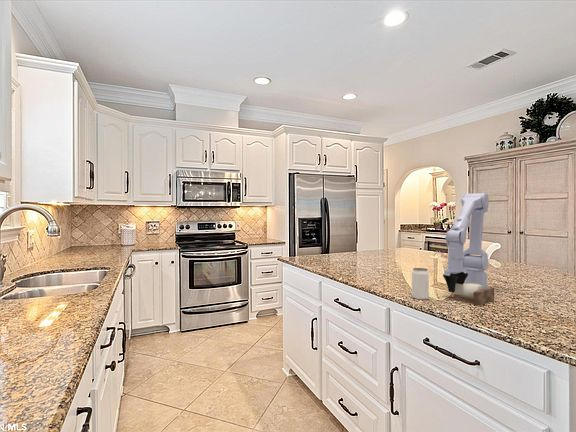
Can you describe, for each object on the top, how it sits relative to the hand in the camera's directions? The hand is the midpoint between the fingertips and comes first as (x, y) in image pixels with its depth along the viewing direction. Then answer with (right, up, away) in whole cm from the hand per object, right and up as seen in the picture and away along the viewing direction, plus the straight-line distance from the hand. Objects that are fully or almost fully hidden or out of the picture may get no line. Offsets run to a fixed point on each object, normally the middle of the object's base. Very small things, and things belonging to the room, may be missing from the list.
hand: (455, 290), depth 139 cm
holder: (+4, -3, -5) cm, 7 cm away
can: (-16, -3, -2) cm, 16 cm away
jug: (+3, -2, -4) cm, 5 cm away
